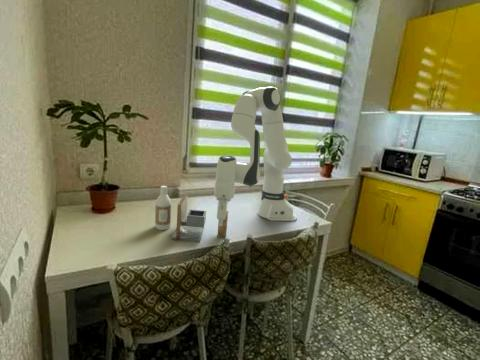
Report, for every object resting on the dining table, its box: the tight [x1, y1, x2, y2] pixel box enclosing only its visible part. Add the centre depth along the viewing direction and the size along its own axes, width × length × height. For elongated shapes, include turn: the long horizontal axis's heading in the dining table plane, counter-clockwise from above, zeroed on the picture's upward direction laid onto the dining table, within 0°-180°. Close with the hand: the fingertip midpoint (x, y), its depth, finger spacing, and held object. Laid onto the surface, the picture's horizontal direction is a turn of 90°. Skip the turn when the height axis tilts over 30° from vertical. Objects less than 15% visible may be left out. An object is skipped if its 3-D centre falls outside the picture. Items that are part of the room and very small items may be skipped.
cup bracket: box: [171, 193, 207, 243], centre depth 126 cm, size 13×16×16 cm
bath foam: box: [154, 185, 172, 231], centre depth 129 cm, size 7×7×20 cm
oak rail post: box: [216, 210, 229, 238], centre depth 127 cm, size 4×4×12 cm
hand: (221, 221), depth 127 cm, fingers open, 8 cm apart
